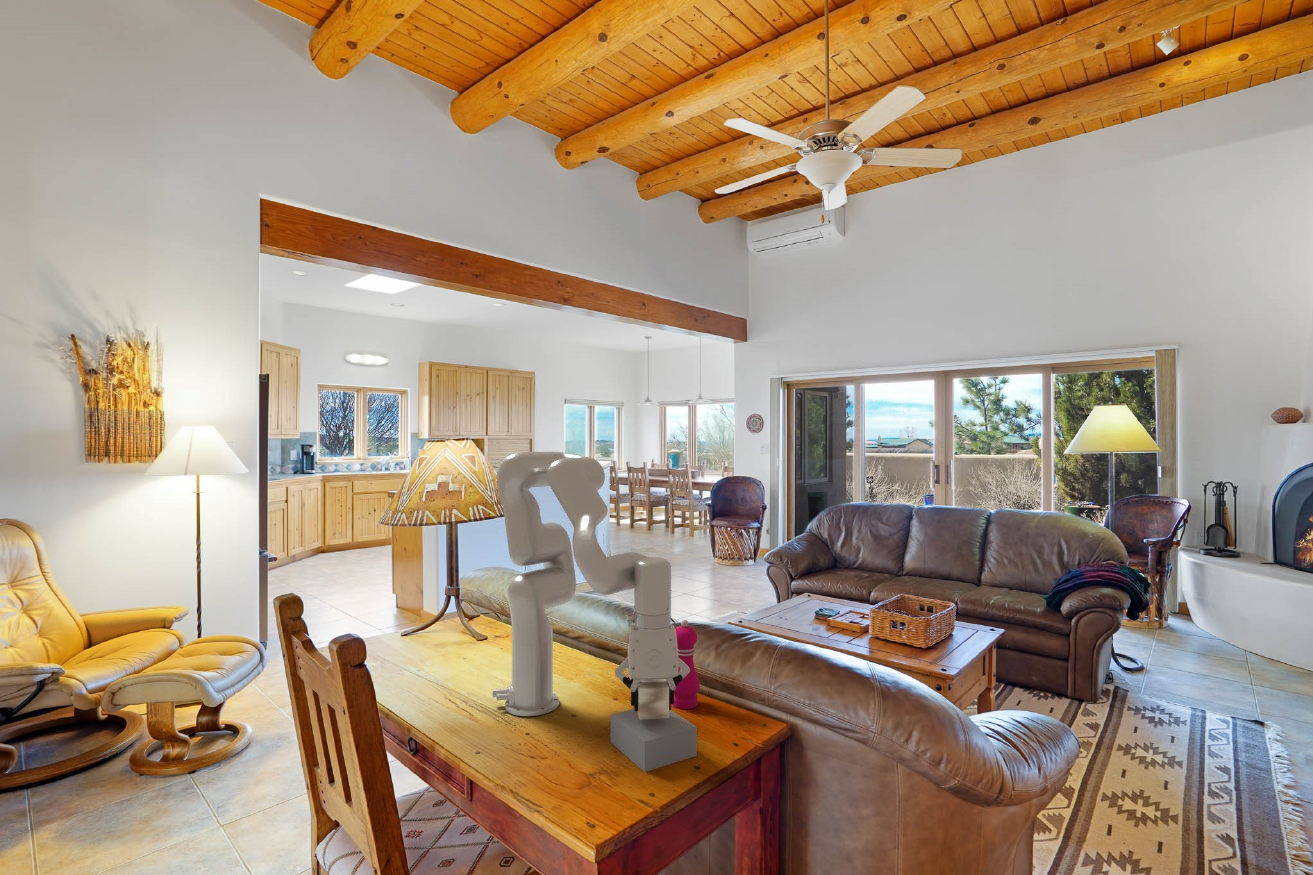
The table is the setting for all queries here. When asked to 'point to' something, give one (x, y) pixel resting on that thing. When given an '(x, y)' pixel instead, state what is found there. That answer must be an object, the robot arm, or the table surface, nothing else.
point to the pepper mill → (690, 683)
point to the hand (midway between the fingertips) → (652, 707)
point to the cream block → (653, 699)
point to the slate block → (653, 739)
